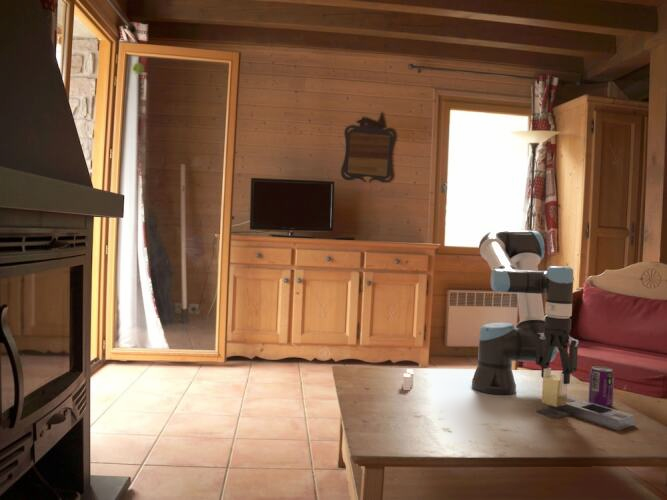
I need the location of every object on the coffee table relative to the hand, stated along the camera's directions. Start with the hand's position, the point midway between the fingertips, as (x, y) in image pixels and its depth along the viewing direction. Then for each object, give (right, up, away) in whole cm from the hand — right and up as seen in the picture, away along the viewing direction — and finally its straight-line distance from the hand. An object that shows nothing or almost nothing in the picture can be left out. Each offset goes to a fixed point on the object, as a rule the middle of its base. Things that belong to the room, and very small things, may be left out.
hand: (554, 391), depth 161 cm
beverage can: (+20, -8, +11) cm, 24 cm away
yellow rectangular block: (0, -4, 0) cm, 4 cm away
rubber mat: (0, -7, 0) cm, 7 cm away
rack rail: (+10, -7, -1) cm, 13 cm away
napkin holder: (-42, -6, +24) cm, 49 cm away
